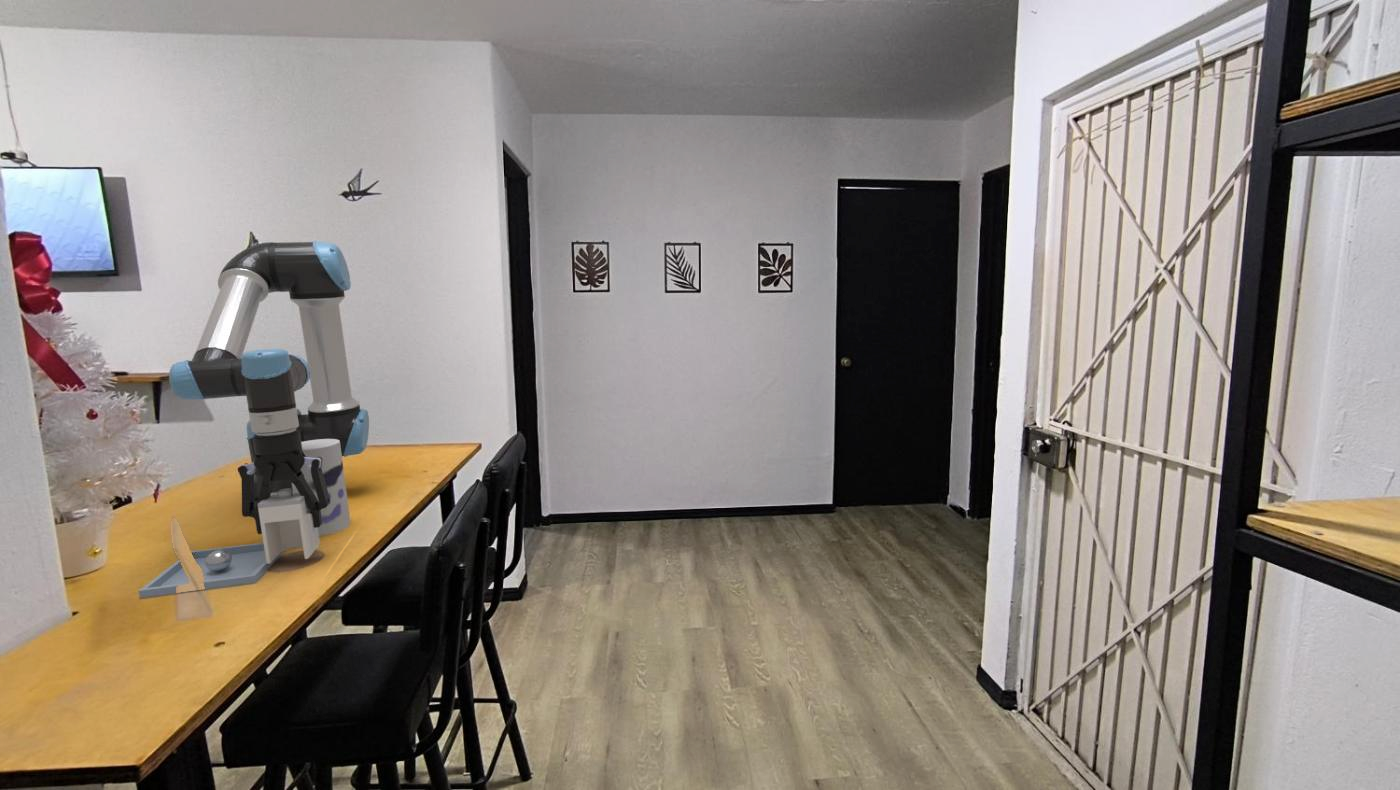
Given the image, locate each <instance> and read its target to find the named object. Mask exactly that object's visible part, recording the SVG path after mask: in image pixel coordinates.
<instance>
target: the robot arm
mask: <svg viewBox="0 0 1400 790" xmlns="http://www.w3.org/2000/svg"><path fill="white" fill-rule="evenodd" d="M351 284H352V283H351V277H350V271H349V268H348V264H347V261H346V259H345V256H344V254H343V252H342V250H341V248H340V247H339V246H337V245H336V244H334V243H332V242H323V241H321V242H320V241H319V242H318V241H306V242H305V241H302V242H297V241H296V242H295V241H292V242H290V241H289V242H288V241H287V242H269V241H268V242H262V243H257V244H255V245H254V244H253V245H252V246H249V247H247V248H245V249H243V250H242V251H240V252H239V253H237V254H236V255H235V256H233V257H232V258H231V259H230V260H229V261H228V262H227V263H226V264H225V265H224V267H223V268H222V270H221V272H220V274H219V276H218V280H217V285H218V289H219V291H218V295H217V297H216V299H215V303H214V305H213V307H212V310H211V312H210V315H209V317H208V320H207V323H206V325H205V328H204V330H203V331H202V332H203V333H202V335H201V338H200V340H199V342H198V344H197V347H196V350H195V353H194V355H193V358H192V360H188V359H186V360H183V361H176V362H175V363H173V364H172V365H171V367H170V369H169V373H168V375H169V376H168V380H169V381H168V382H169V385H170V388H171V390H172V392H173V395H175V396H176V397H177V398H179V399H180V400H210V399H222V398H223V399H224V398H233V397H234V398H235V397H246V402H247V409H248V417H249V420H248V422H247V423H246V433H247V435H246V436H247V437H246V440H247V442H248V450H249V455H250V456H249V457H250V462H249V463H247V462H246V463H243V464H242V465H240V466H238V468H237V472H238V474H239V477H240V479H241V515H242V516H243V517H244V518H247V517H251V518H253V519H254V520H255V521H254V522H255V527H256V533H257V534H258V535H262V530H261V524H260V517H259V511H258V503H260V502H261V501H262V500H266V499H267V498H268V497H270V495H271V493H275V492H277V491H278V490H281V489H286V488H291V489H292V491H293V488H292V483H293V484H294V485H295V487H296V488H297V490H298V492H299V493H300V495H301V496H304V499H305V503H306V505H307V506H308V508H309V509H310V511H309V512H308V513H307V514H306V515H307V522H308V529H309V536H310V543H311V546H315V545H316V544H317V543H318V541H319V542H320V536H319V534H318V527H320V526H321V525H322V516H321V509H323V508H326V507H327V506H328V505H329V504H330V502H331V501H330V497H329V494H328V490H327V487H326V483H325V479H324V476H323V472H322V469H321V467H322V458H321V457H317V458H310V457H306V455H305V454H304V453H303V451H302V443H301V442H304V441H310V440H318V439H337V440H339V441H340V446H341V454H342V457H344V458H345V457H349V456H355V455H361V454H362V453H363V452H364V451H365V450H366V448H367V445H368V441H369V440H368V439H369V431H370V417H369V412H368V410H367V409H364V408H361V406H360V405H361V404H360V402H359V401H358V400H357V399H356V398H354V397H353V396H352V389H351V382H350V381H351V380H350V375H349V370H348V369H349V368H348V360H347V354H346V346H345V339H344V333H343V324H342V319H341V311H340V303H341V302H342V301H343V300H344V299H346V297H345V292H346V291H349V290H350V289H351ZM276 292H278V293H279V292H281V293H286V292H287V293H289V300H290V301H291V302H292V303H295V304H296V305H297V306H298V309H299V317H300V318H299V319H300V323H301V329H302V335H303V343H304V349H305V355H306V360H305V359H304V358H302V357H301V356H299V355H295V354H289V353H288V351H287V350H286V349H283V348H282V349H281V348H276V349H275V348H270V349H269V348H268V349H267V348H266V349H258V350H248V351H245V348H246V347H247V346H246V345H247V342H248V339H249V337H250V333H251V330H252V327H253V324H254V321H255V318H256V315H257V312H258V308H259V306H260V303H261V302H263V301H264V300H266V298H267V297H268V295H269V294H271V293H276ZM244 351H245V352H244ZM309 381H310V382H309ZM308 382H309V383H310V387H311V393H312V394H311V395H312V403H310V405H309V406H308V407H307V414H302V411H301V410H300V409H299V408H297V403H296V396H295V392H297V391H298V390H301V389H303V387H305V385H306V384H307V383H308ZM304 463H306V464H307V466H308V468H309V469H311V475H312V479H313V483H314V486H315V490H316V493H317V497H318V500H319V501H318V500H317V498H316V496H315V495H314V493H313V491H312V490H311V488H310V486H309V485H308V483H307V481H306V480H305V478H304V474H303V473H302V471H301V468H302V466H303V465H304Z"/></svg>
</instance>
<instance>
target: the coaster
mask: <svg viewBox="0 0 1400 790" xmlns="http://www.w3.org/2000/svg"><path fill="white" fill-rule="evenodd" d="M324 558H325V552H323V550H317V549H316V550H315V551H314V552H313V553H312V555H311V556H310V557H309V558H308V559H305V557H304V550H299V551H294V552H289V553H287V554H282V555H281V556H280V557H279V558H278V559H277V560H276V561H275V563H274V564H273V565H272V566H271V567H270V568H269V569H268V570H267V572H272V573H286V572H291V571H296V570H301V569H304V568H308V567H310V566H312V565H314V564H317V563H319V562H320V561H321V560H323V559H324Z"/></svg>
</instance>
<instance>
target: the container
mask: <svg viewBox="0 0 1400 790" xmlns="http://www.w3.org/2000/svg"><path fill="white" fill-rule="evenodd" d="M301 443H302V451H303V453H304V454H305V455H306V457H310V458H317V457H321V458H322V467H321V469H322V472H323V476H324V479H325V483H326V487H327V490H328V494H329V497H330V501H331V502H330V504H329V505H328V506H327V507H326V508H323V509H321V516H322V525H321V526H320V527H318V534H319V537H323V536H327V535H332V534H335V533H338V532H341V531H343V530H345V529H347V528H349V527H350V525H351V516H350V507H349V501H348V493H347V485H346V477H345V471H344V464H343V463H344V462H343V456H342V454H341V446H340V441H339V440H337V439H318V440H310V441H304V442H301ZM301 471H302V473H303V474H304V478H305V480H306V481H307V483H308V485H309V486H310V488H311V489H312V491H313V493H314V495H315V496H316V498H317V500H318V497H317V493H316V490H315V486H314V483H313V479H312V475H311V469H309V468H308V466H307V464H306V463H304V465H303V466H302V468H301ZM292 488H293V491H295V490H297V488H296V487H295V485H294V484H293V483H292ZM318 501H319V500H318Z"/></svg>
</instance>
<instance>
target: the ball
mask: <svg viewBox="0 0 1400 790" xmlns="http://www.w3.org/2000/svg"><path fill="white" fill-rule="evenodd" d="M231 561H232V558H231V555H230V554H229V553H228V552H226V551H223V550H218V551H214V552H212V553H211V554H209V555H208V557H207V558H206V561H205V565H206V567H207V568H208V569H209V570H210V571H213V572H220V571H223V570H225V569H227V568H228V567H229V566H230V564H231Z"/></svg>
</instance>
